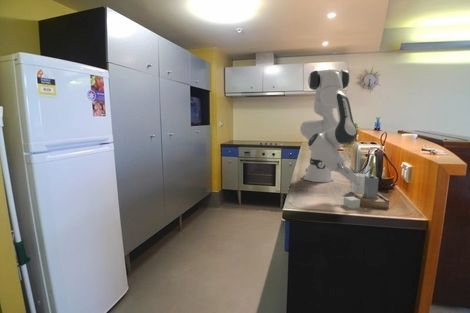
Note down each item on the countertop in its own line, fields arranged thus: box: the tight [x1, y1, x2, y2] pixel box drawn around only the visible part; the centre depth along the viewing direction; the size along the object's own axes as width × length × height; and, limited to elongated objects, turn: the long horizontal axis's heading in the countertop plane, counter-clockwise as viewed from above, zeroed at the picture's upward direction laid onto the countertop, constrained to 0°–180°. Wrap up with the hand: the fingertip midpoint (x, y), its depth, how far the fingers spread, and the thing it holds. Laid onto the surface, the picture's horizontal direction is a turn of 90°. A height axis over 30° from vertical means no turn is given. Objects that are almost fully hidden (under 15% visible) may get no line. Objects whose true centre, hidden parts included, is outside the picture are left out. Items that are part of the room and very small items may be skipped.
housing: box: [362, 174, 379, 199], centre depth 126 cm, size 5×5×11 cm
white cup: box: [350, 172, 368, 194], centre depth 145 cm, size 8×8×10 cm
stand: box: [352, 192, 390, 209], centre depth 127 cm, size 12×12×4 cm
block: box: [343, 196, 361, 209], centre depth 123 cm, size 5×5×4 cm
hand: (355, 182), depth 127 cm, fingers open, 8 cm apart
